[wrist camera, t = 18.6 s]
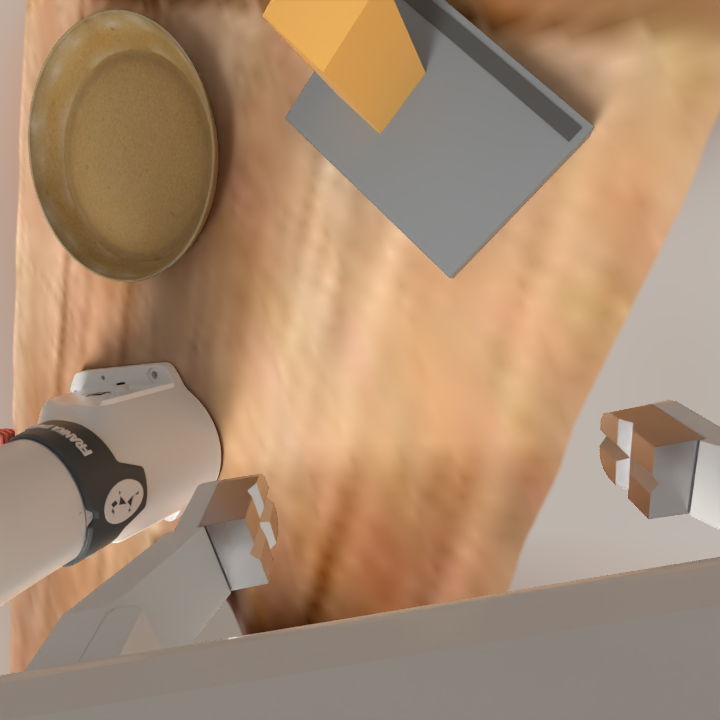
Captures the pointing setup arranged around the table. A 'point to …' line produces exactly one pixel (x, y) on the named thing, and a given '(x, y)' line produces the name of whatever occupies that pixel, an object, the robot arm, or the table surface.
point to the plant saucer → (122, 146)
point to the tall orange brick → (353, 51)
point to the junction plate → (448, 138)
